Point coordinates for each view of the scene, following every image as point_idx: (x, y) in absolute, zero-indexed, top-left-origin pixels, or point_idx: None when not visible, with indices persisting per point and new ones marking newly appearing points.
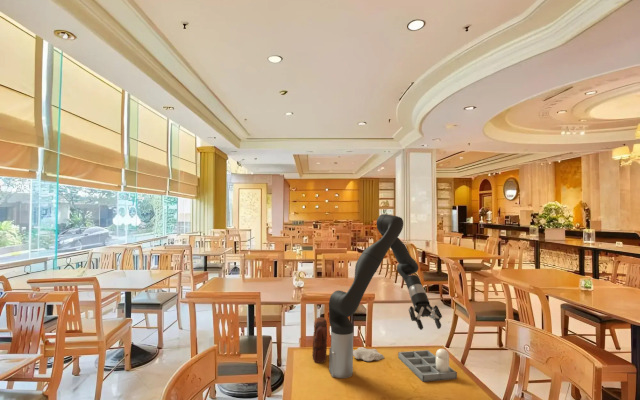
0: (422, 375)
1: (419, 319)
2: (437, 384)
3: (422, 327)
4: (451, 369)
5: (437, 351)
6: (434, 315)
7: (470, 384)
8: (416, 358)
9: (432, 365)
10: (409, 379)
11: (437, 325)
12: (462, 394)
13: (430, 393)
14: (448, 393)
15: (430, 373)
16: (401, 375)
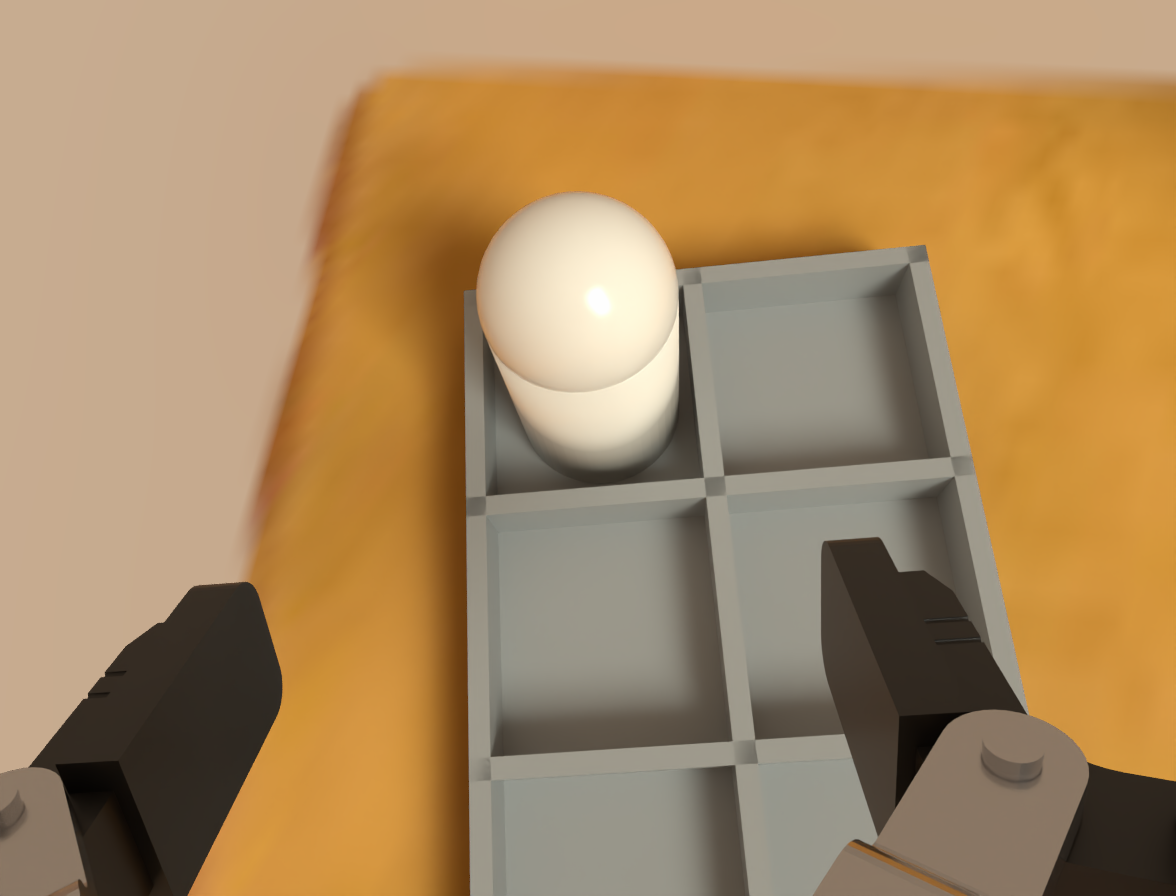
0: (924, 260)
1: (949, 742)
2: (759, 234)
3: (851, 542)
4: (483, 366)
5: (655, 266)
6: (58, 892)
7: (409, 220)
8: (836, 741)
9: (683, 483)
10: (1053, 348)
11: (237, 708)
12: (602, 70)
13: (907, 91)
14: (727, 87)
15: (748, 424)
16: (1136, 446)
